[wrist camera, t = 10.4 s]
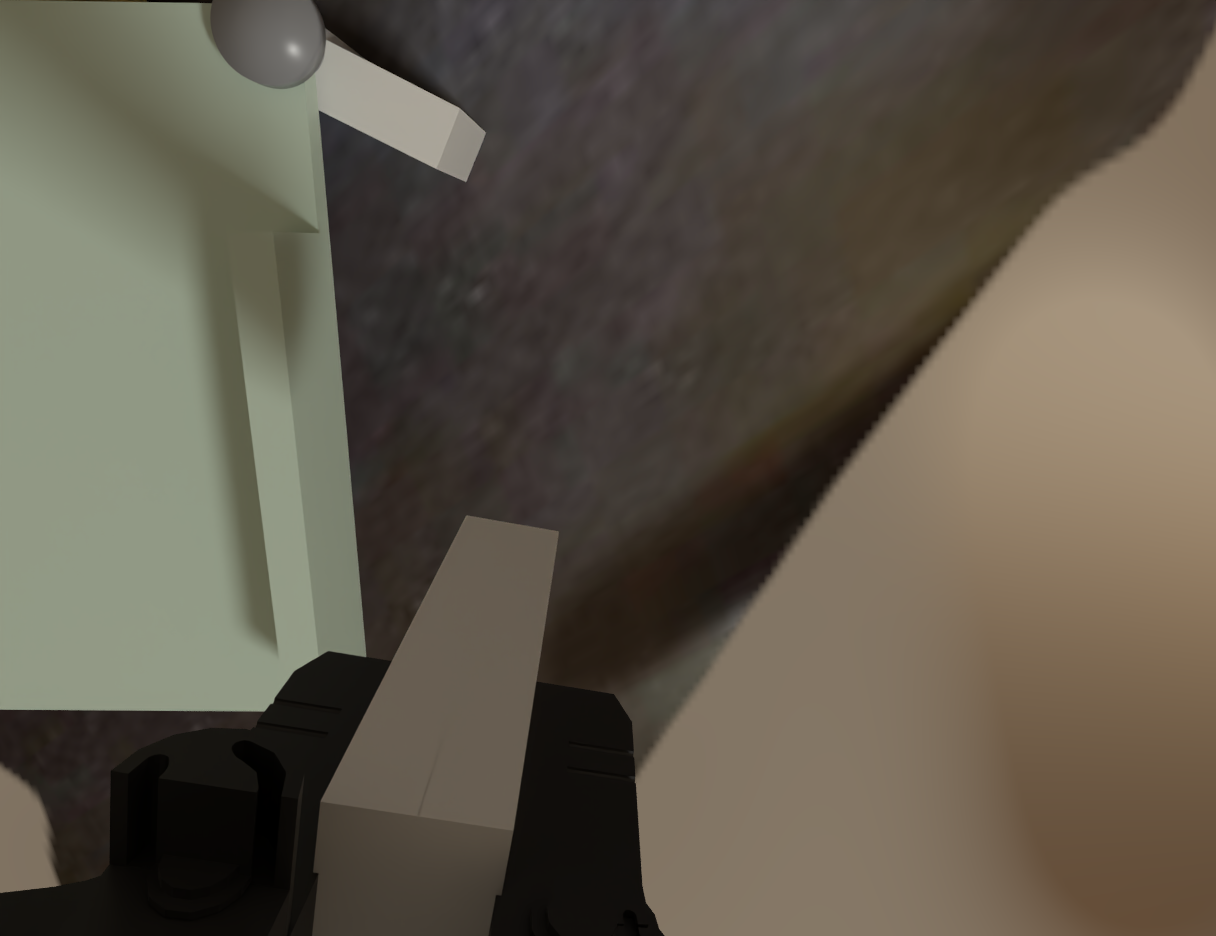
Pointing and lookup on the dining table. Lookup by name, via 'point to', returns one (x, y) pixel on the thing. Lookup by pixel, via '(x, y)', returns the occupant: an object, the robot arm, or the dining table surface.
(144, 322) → the cover
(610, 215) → the dining table surface
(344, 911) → the robot arm
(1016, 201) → the dining table surface
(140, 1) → the yellow cardboard tube
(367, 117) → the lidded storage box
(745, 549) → the dining table surface
